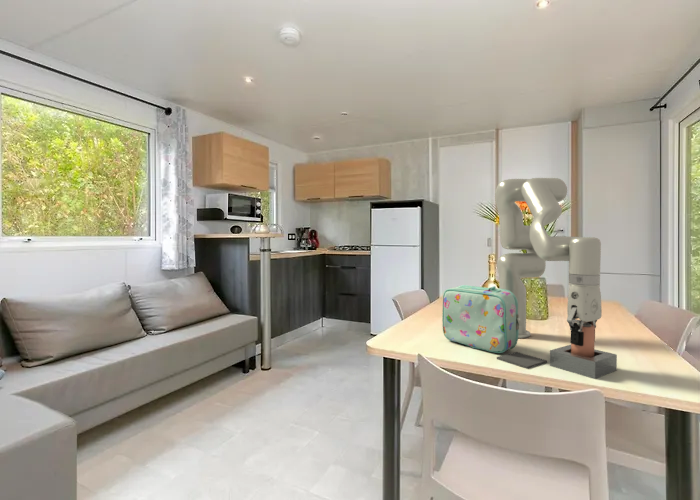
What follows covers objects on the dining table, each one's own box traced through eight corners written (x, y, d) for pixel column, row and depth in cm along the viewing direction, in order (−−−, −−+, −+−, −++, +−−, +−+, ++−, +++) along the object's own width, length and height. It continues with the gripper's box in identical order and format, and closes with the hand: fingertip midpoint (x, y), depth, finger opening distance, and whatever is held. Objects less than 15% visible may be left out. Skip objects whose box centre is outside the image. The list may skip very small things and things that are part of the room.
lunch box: (525, 352, 118) (525, 287, 118) (508, 358, 112) (509, 289, 112) (456, 335, 139) (456, 280, 139) (439, 340, 133) (439, 282, 133)
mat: (496, 358, 112) (496, 357, 112) (516, 353, 117) (516, 351, 117) (527, 368, 103) (527, 366, 103) (547, 362, 108) (547, 360, 108)
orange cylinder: (567, 362, 105) (567, 322, 105) (577, 358, 108) (577, 320, 108) (587, 368, 100) (588, 327, 100) (597, 364, 103) (598, 324, 103)
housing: (549, 365, 106) (550, 350, 106) (572, 358, 112) (572, 344, 112) (594, 378, 95) (595, 361, 95) (616, 370, 102) (616, 354, 102)
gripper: (582, 283, 96) (580, 351, 96) (613, 279, 105) (611, 341, 105) (553, 281, 102) (552, 344, 103) (585, 277, 111) (584, 335, 112)
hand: (582, 342), depth 104 cm, fingers closed on orange cylinder, 5 cm apart
